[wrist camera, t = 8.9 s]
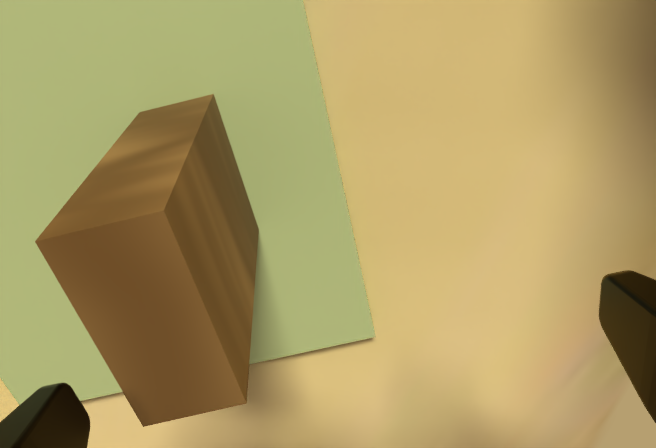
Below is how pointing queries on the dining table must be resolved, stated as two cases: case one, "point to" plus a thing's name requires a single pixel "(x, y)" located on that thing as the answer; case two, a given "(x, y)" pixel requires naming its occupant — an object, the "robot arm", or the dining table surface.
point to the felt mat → (111, 121)
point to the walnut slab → (164, 262)
